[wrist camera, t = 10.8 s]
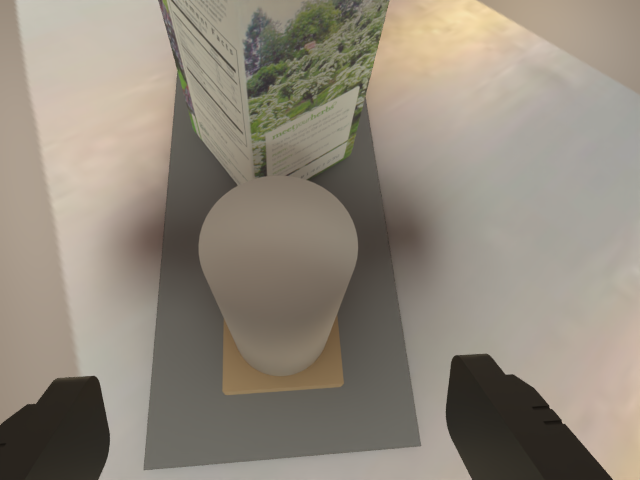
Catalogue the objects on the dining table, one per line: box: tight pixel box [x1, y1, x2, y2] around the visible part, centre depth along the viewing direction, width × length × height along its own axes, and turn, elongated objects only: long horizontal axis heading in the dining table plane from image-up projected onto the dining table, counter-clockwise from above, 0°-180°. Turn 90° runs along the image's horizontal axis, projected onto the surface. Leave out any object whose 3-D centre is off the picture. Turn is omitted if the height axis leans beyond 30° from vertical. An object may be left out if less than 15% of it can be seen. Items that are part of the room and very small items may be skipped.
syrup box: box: [158, 0, 389, 185], centre depth 15 cm, size 6×6×14 cm
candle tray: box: [144, 71, 421, 470], centre depth 16 cm, size 10×20×9 cm, turn 4°
